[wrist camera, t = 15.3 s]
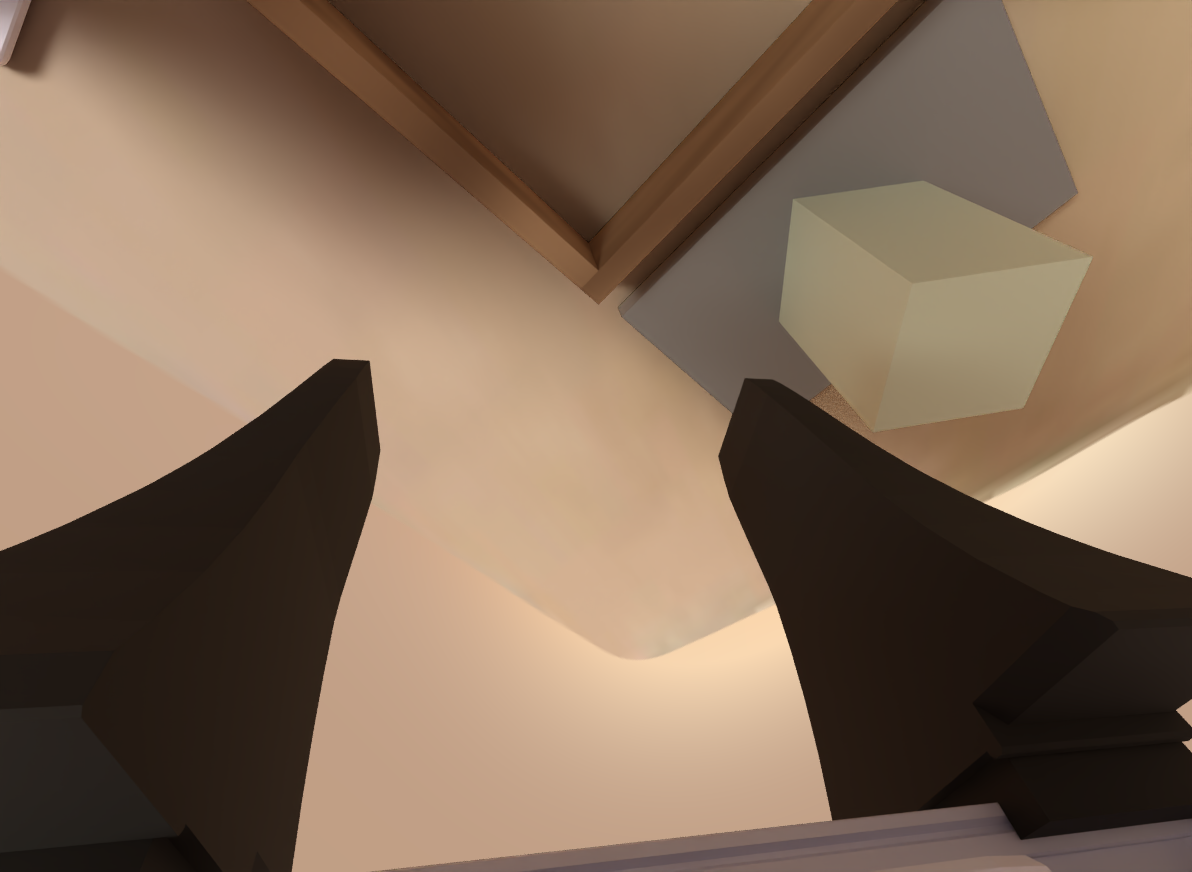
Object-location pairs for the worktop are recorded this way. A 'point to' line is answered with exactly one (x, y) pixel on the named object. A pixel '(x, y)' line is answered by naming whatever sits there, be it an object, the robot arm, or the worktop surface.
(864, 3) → the walnut tray
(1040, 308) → the olive beige rectangular block
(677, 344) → the slate board
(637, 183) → the worktop surface
